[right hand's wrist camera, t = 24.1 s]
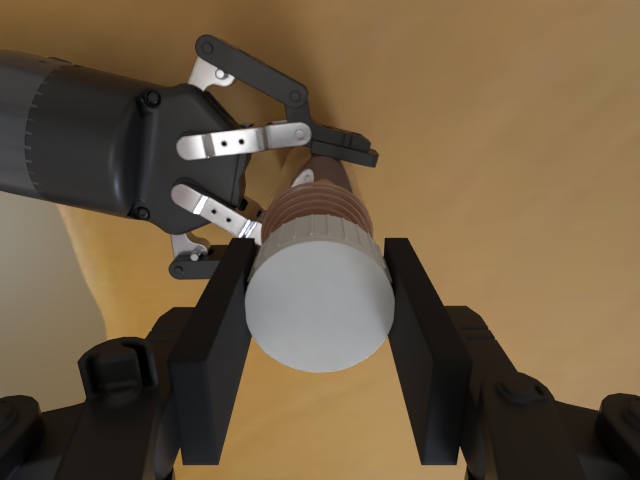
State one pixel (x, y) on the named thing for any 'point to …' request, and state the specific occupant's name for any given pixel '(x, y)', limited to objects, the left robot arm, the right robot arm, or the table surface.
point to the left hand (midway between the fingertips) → (361, 203)
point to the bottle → (315, 192)
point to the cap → (319, 295)
